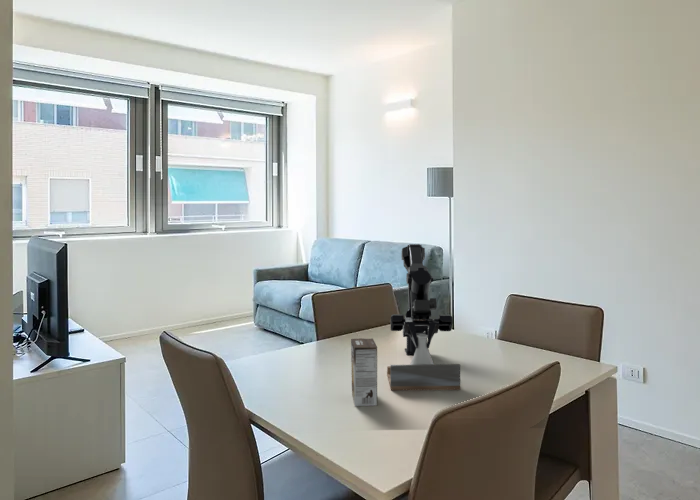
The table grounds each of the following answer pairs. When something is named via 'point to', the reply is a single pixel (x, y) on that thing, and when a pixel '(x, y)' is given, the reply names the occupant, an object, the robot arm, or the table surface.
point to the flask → (422, 352)
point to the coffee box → (364, 372)
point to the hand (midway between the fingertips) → (422, 347)
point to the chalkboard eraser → (424, 377)
